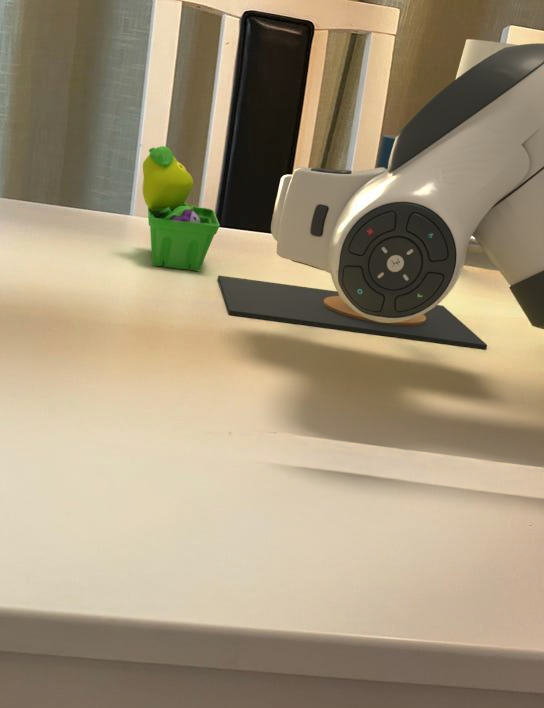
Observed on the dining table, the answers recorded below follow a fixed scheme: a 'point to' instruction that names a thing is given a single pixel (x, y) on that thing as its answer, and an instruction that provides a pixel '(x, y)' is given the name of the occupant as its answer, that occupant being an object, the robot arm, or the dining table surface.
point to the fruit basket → (175, 214)
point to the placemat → (336, 312)
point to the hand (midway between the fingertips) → (399, 212)
